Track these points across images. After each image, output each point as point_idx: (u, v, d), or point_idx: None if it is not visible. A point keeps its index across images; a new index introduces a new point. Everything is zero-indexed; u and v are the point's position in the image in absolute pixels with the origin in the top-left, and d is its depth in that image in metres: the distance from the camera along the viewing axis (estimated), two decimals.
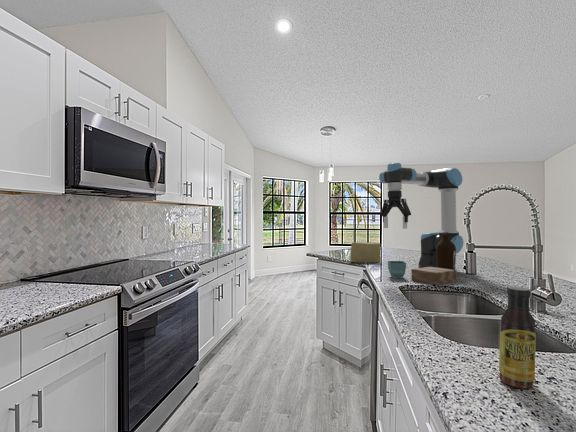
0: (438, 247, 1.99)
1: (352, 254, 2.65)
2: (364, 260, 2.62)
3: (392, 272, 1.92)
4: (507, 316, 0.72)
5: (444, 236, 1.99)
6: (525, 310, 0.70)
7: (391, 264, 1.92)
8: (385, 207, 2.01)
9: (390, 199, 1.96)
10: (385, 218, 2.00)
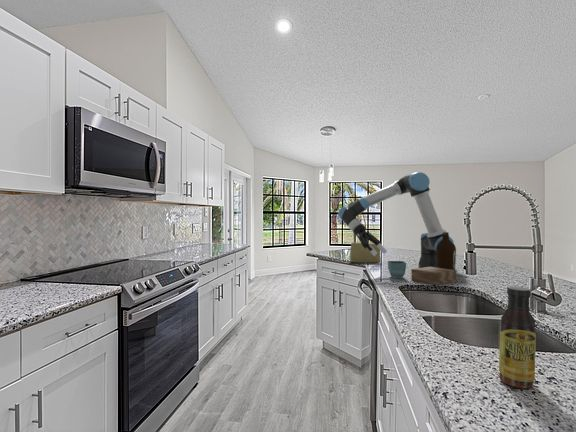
0: (438, 247, 1.99)
1: (352, 254, 2.65)
2: (363, 260, 2.62)
3: (392, 272, 1.92)
4: (507, 316, 0.72)
5: (444, 236, 1.99)
6: (525, 310, 0.70)
7: (391, 264, 1.92)
8: None
9: None
10: (378, 246, 2.09)
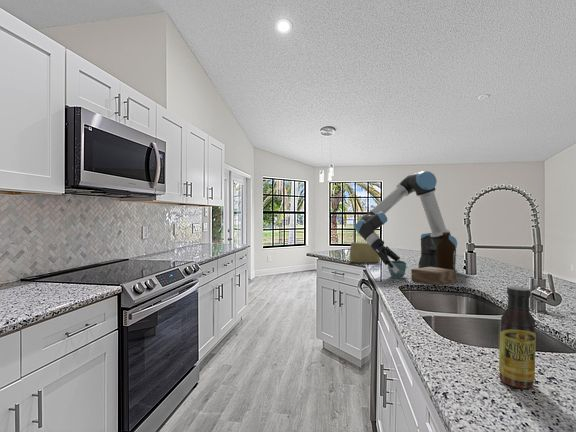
0: (438, 247, 1.99)
1: (351, 254, 2.65)
2: (363, 260, 2.62)
3: (392, 272, 1.92)
4: (507, 316, 0.72)
5: (444, 236, 1.99)
6: (525, 310, 0.70)
7: None
8: None
9: None
10: None
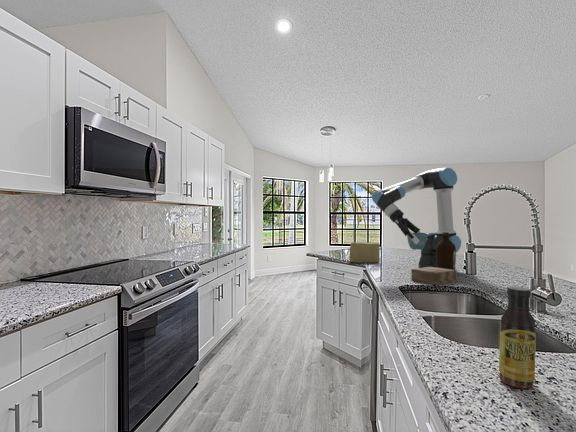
0: (438, 247, 1.99)
1: (351, 254, 2.65)
2: (363, 260, 2.62)
3: (412, 243, 1.85)
4: (507, 316, 0.72)
5: (444, 236, 1.99)
6: (525, 310, 0.70)
7: None
8: None
9: None
10: None
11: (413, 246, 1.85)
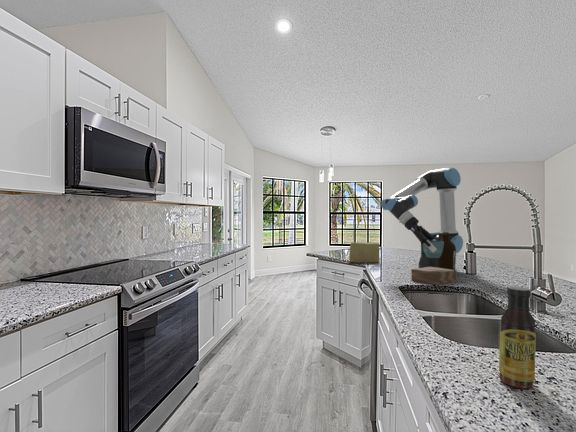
0: None
1: (351, 254, 2.65)
2: (362, 260, 2.62)
3: (429, 251, 1.81)
4: (507, 316, 0.72)
5: (444, 236, 1.99)
6: (525, 310, 0.70)
7: None
8: None
9: None
10: None
11: (430, 254, 1.82)
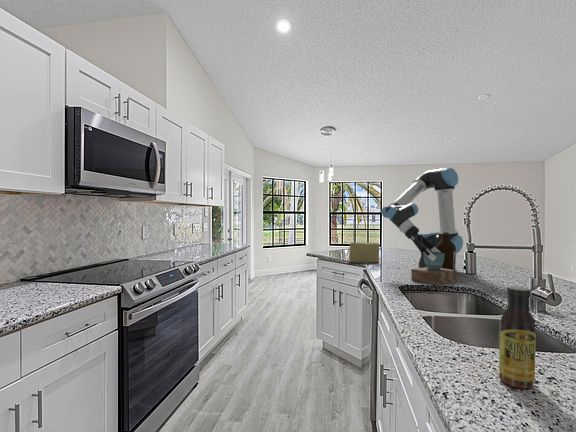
0: (438, 247, 1.99)
1: (351, 254, 2.65)
2: (362, 260, 2.62)
3: (429, 263, 1.82)
4: (507, 316, 0.72)
5: (444, 236, 1.99)
6: (525, 310, 0.70)
7: None
8: None
9: None
10: (432, 250, 1.91)
11: (430, 266, 1.82)
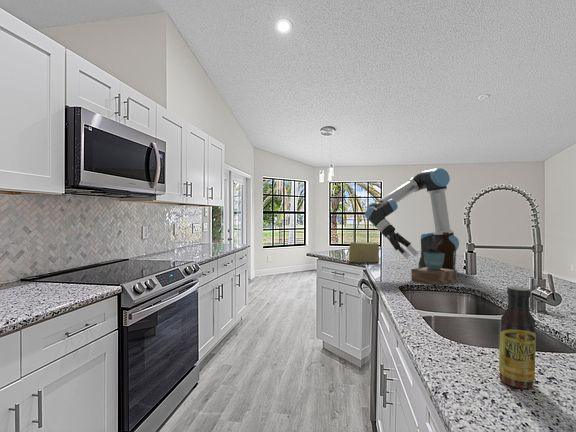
0: (438, 247, 1.99)
1: (350, 254, 2.65)
2: (362, 260, 2.62)
3: (429, 263, 1.82)
4: (507, 316, 0.72)
5: (444, 236, 1.99)
6: (525, 310, 0.70)
7: (428, 255, 1.81)
8: (401, 239, 2.02)
9: None
10: (408, 248, 1.99)
11: (430, 266, 1.82)
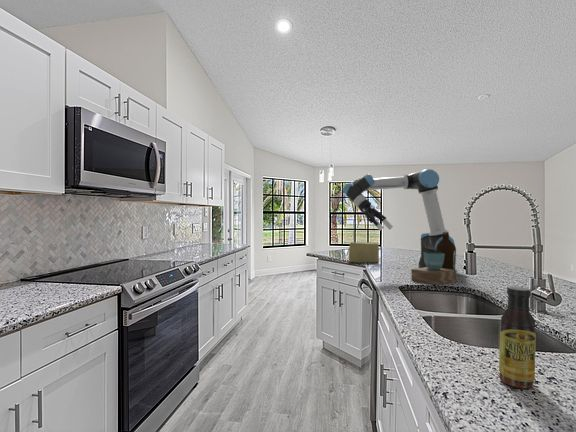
0: (438, 247, 1.99)
1: (350, 254, 2.65)
2: (362, 260, 2.62)
3: (429, 263, 1.82)
4: (507, 316, 0.72)
5: (444, 236, 1.99)
6: (525, 310, 0.70)
7: (428, 255, 1.81)
8: None
9: None
10: (383, 222, 2.08)
11: (430, 266, 1.82)
